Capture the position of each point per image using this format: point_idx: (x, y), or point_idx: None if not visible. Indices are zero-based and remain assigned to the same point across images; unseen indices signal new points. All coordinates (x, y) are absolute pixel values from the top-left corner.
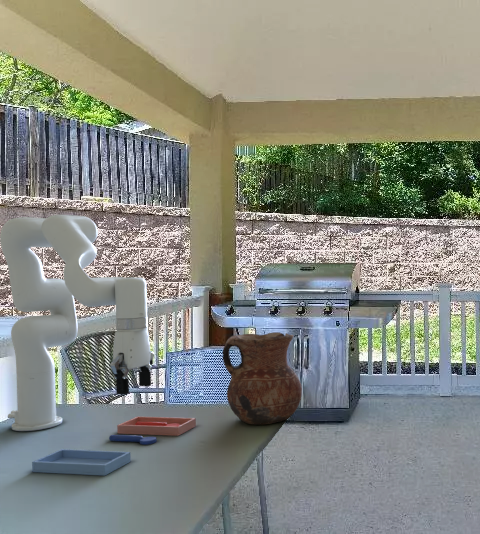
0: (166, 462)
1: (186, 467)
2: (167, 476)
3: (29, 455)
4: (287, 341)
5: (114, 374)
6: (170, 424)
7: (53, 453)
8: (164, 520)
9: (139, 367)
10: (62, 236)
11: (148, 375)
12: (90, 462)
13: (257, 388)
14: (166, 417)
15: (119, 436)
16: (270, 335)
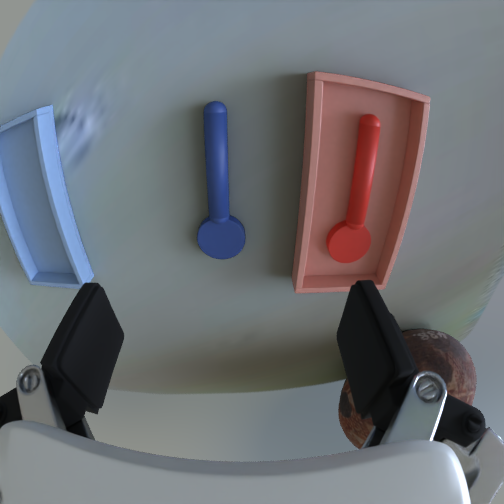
0: (122, 328)
1: (122, 355)
2: None
3: (64, 3)
4: None
5: (7, 400)
6: (360, 235)
7: (14, 124)
8: (39, 365)
9: (392, 421)
10: None
11: (353, 392)
12: (47, 211)
13: (348, 437)
14: (410, 206)
15: (208, 146)
16: None
